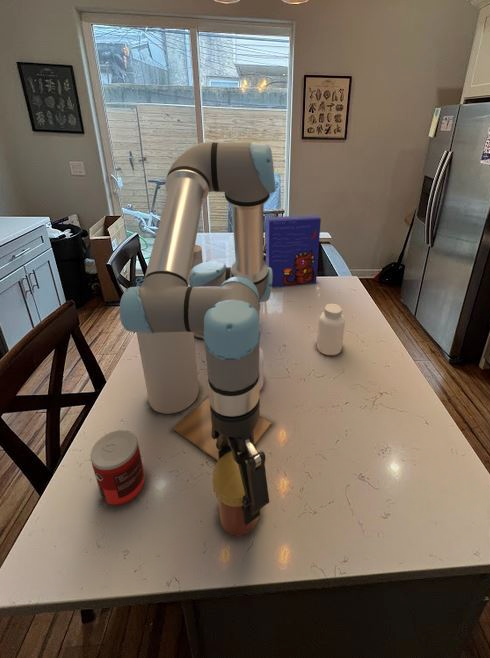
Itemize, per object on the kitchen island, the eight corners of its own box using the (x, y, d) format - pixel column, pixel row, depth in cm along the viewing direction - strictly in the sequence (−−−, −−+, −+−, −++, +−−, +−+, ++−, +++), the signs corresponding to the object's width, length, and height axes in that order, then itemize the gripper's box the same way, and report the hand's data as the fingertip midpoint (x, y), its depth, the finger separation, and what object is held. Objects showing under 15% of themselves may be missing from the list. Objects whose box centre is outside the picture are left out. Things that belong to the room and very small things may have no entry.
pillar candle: (186, 270, 156) (184, 241, 150) (206, 272, 155) (204, 242, 149) (178, 279, 147) (174, 248, 141) (199, 281, 146) (196, 250, 140)
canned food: (110, 468, 68) (100, 430, 64) (150, 465, 69) (142, 428, 64) (94, 508, 61) (81, 469, 57) (138, 505, 62) (129, 466, 57)
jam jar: (211, 519, 60) (207, 480, 56) (237, 485, 65) (235, 447, 61) (242, 545, 56) (240, 506, 52) (266, 507, 62) (267, 469, 57)
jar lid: (210, 509, 53) (209, 500, 52) (215, 458, 61) (215, 450, 60) (263, 505, 54) (263, 496, 53) (262, 455, 61) (262, 447, 61)
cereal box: (311, 277, 152) (316, 214, 141) (316, 283, 147) (320, 218, 135) (265, 281, 147) (266, 216, 136) (268, 287, 142) (269, 220, 130)
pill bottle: (341, 358, 101) (346, 316, 95) (315, 354, 102) (318, 313, 97) (342, 342, 108) (346, 302, 102) (317, 338, 110) (321, 299, 104)
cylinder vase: (147, 385, 89) (133, 306, 79) (194, 373, 94) (186, 296, 84) (150, 422, 78) (134, 335, 69) (203, 406, 83) (195, 322, 73)
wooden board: (173, 429, 77) (173, 428, 76) (215, 392, 87) (215, 390, 87) (232, 472, 68) (232, 471, 67) (271, 424, 78) (271, 422, 78)
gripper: (297, 438, 44) (291, 538, 53) (225, 351, 60) (230, 439, 69) (248, 469, 40) (250, 572, 49) (185, 367, 56) (196, 458, 65)
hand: (238, 494), depth 59 cm, fingers closed on jar lid, 8 cm apart
